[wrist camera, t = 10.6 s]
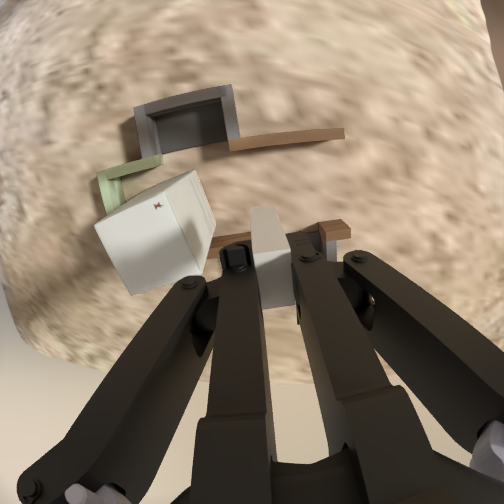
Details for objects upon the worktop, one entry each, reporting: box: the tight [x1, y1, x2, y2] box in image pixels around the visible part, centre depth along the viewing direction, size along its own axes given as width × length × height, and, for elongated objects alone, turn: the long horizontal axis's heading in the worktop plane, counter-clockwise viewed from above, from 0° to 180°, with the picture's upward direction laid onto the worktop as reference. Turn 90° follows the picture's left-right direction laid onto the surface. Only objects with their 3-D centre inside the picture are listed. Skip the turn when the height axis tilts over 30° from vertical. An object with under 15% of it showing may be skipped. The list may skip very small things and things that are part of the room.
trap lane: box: [96, 84, 351, 262], centre depth 30 cm, size 24×27×4 cm
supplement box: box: [94, 170, 216, 296], centre depth 26 cm, size 7×7×13 cm
